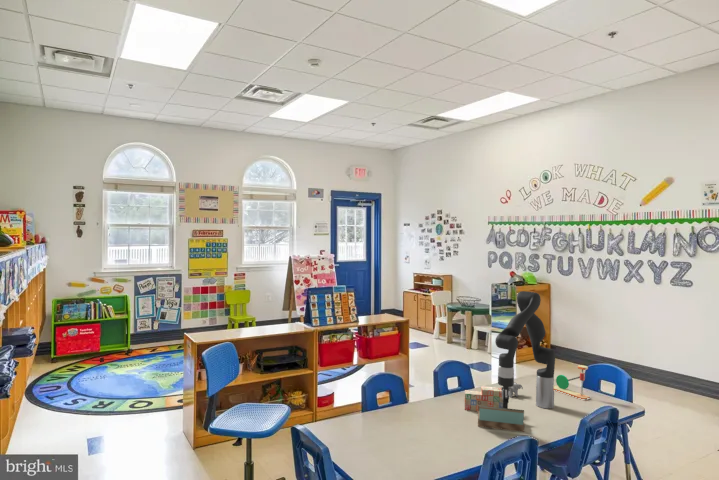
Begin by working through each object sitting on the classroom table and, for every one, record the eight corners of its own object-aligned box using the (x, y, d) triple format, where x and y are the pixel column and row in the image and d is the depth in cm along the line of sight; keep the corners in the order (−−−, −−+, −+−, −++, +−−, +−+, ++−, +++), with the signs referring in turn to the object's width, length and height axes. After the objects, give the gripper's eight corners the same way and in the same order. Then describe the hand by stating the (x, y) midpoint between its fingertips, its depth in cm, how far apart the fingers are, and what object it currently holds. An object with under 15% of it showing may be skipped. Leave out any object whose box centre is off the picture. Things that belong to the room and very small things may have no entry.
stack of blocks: (464, 410, 257) (465, 388, 257) (464, 406, 264) (464, 384, 264) (504, 413, 253) (505, 391, 253) (503, 409, 259) (504, 387, 259)
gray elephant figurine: (501, 395, 284) (500, 382, 284) (512, 390, 291) (512, 378, 291) (514, 399, 277) (514, 387, 276) (525, 394, 284) (525, 382, 284)
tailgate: (523, 423, 229) (523, 410, 227) (523, 425, 228) (524, 411, 225) (479, 418, 234) (479, 405, 232) (479, 420, 233) (479, 407, 231)
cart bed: (521, 422, 241) (521, 410, 241) (523, 431, 229) (524, 418, 229) (478, 417, 246) (478, 405, 246) (478, 426, 235) (478, 413, 235)
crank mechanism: (590, 399, 280) (591, 367, 280) (584, 400, 276) (584, 368, 276) (554, 387, 301) (555, 357, 301) (548, 388, 298) (548, 358, 298)
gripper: (514, 380, 223) (514, 415, 223) (512, 372, 235) (512, 405, 236) (498, 378, 224) (497, 414, 225) (497, 370, 237) (496, 404, 238)
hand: (505, 409), depth 230 cm, fingers closed
